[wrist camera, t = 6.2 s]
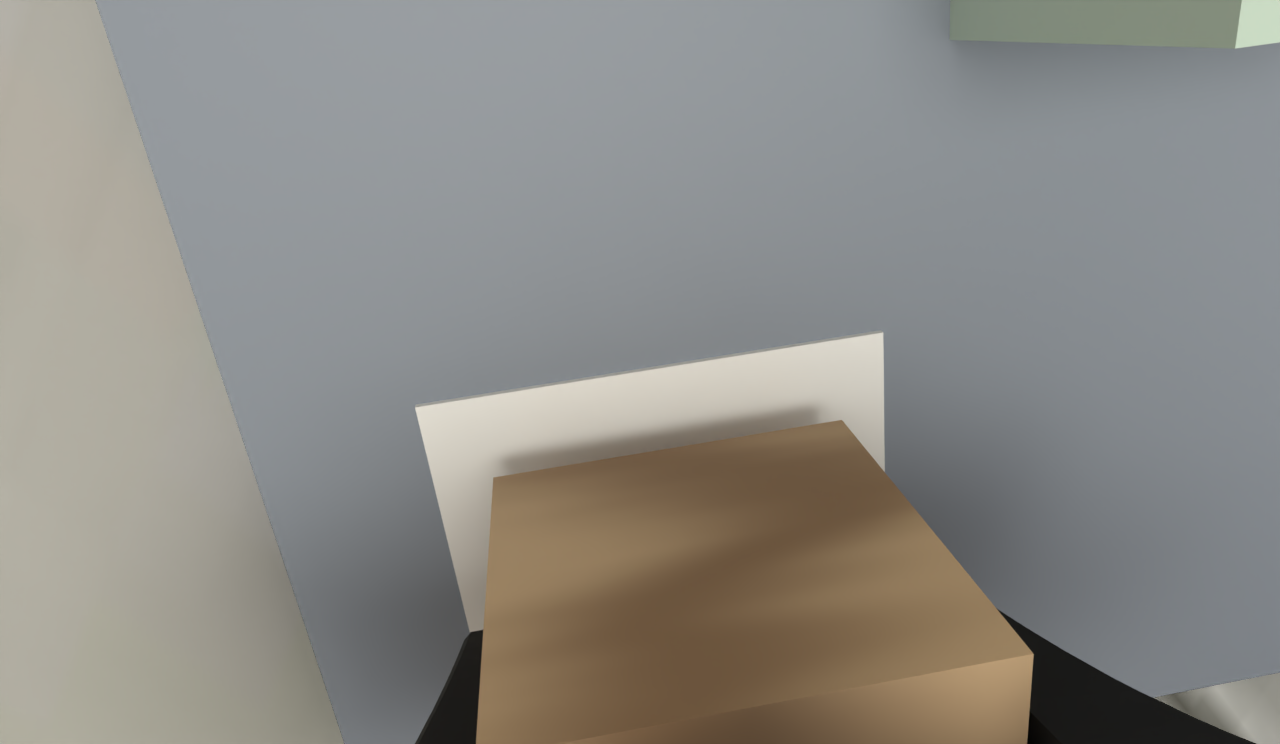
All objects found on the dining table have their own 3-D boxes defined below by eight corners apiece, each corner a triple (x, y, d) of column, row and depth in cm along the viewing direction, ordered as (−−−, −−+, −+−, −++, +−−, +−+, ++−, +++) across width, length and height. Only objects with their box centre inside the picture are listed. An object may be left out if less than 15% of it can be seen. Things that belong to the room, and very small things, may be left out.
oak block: (841, 419, 12) (1033, 653, 8) (849, 690, 14) (1007, 1007, 10) (493, 477, 12) (475, 760, 7) (549, 747, 14) (563, 1105, 9)
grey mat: (1815, -547, 11) (1899, -584, 10) (1458, 612, 18) (1494, 634, 17) (-8, -381, 9) (-48, -412, 9) (385, 821, 16) (379, 853, 15)
